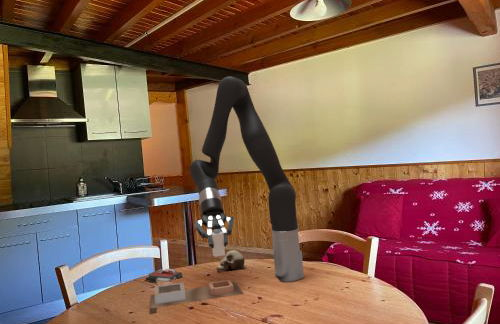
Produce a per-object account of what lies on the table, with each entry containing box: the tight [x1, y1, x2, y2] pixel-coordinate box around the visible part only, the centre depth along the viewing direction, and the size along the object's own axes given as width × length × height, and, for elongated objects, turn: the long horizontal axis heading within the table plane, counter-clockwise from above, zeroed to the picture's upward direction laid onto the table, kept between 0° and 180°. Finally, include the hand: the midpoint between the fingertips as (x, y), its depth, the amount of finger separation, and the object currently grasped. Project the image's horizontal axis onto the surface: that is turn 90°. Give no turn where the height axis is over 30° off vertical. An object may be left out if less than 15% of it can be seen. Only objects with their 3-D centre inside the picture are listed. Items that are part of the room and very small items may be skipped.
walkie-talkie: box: [145, 268, 185, 284], centre depth 139 cm, size 9×4×20 cm
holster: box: [208, 279, 234, 295], centre depth 121 cm, size 7×7×2 cm
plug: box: [211, 229, 226, 258], centre depth 121 cm, size 4×4×8 cm
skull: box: [216, 249, 247, 273], centre depth 149 cm, size 12×10×10 cm
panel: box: [149, 281, 244, 314], centre depth 119 cm, size 28×12×2 cm, turn 103°
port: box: [154, 282, 186, 306], centre depth 117 cm, size 9×9×3 cm
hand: (219, 245), depth 119 cm, fingers closed on plug, 3 cm apart
